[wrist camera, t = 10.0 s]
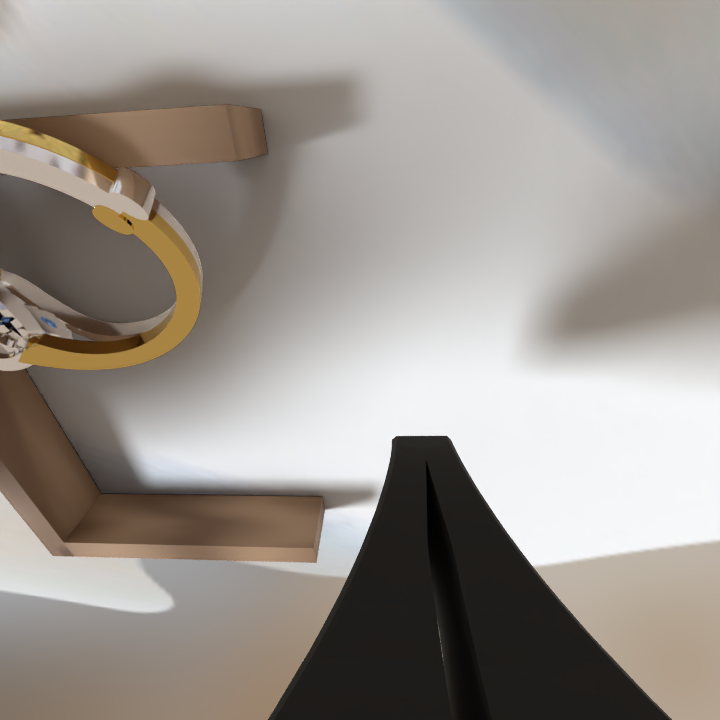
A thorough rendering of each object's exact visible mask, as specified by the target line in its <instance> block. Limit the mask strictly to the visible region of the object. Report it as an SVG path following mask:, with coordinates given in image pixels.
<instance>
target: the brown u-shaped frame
mask: <svg viewBox="0 0 720 720" xmlns="http://www.w3.org/2000/svg"><path fill="white" fill-rule="evenodd" d="M1 121H5V122H9V123H13V124H16V125H20V126H23V127H26V128H29V129H32V130H35V131H38V132H40V133H43V134H46V135H48V136H51V137H53V138H56V139H58V140H60V141H63V142H65V143H67V144H69V145H71V146H74V147H76V148H78V149H80V150H82V151H84V152H86V153H88V154H90V155H91V156H93V157H95V158H97V159H99V160H100V161H102V162H104V163H106V164H107V165H109V166H111V167H112V168H120V167H124V168H126V167H143V166H161V165H178V164H195V163H212V162H229V161H239V160H243V159H248V158H252V157H257V156H261V155H265V154H268V151H267V145H266V138H265V132H264V126H263V120H262V113H261V109H255V108H248V107H241V106H234V105H227V104H223V105H209V106H195V107H181V108H167V109H153V110H138V111H124V112H110V113H96V114H82V115H68V116H54V117H39V118H25V119H11V120H1ZM0 175H7V174H3V173H0ZM5 341H6V337H5V336H3V337H0V343H1V344H5ZM0 491H1V493H2V494H3V495H4V496H5V498H6V499H7V500H8V501H9V502H10V504H11V505H12V506H13V507H14V509H15V510H16V511H17V512H18V514H19V515H20V516H21V517H22V519H23V520H24V521H25V522H26V523H27V525H28V526H29V527H30V528H31V530H32V531H33V532H34V533H35V535H36V536H37V537H38V538H39V539H40V541H41V542H42V543H43V544H44V546H45V547H46V548H47V549H48V551H49V552H50V553H51V554H52V555H53V556H78V557H116V558H155V559H194V560H196V559H197V560H233V561H271V562H310V563H316V562H317V556H318V550H319V543H320V537H321V531H322V524H323V518H324V512H325V510H324V503H323V497H311V496H228V495H145V494H101V493H100V491H99V489H98V488H97V486H96V484H95V483H94V481H93V479H92V478H91V476H90V475H89V473H88V471H87V470H86V468H85V466H84V465H83V463H82V461H81V460H80V458H79V456H78V455H77V453H76V452H75V450H74V448H73V447H72V445H71V443H70V442H69V440H68V438H67V437H66V435H65V434H64V432H63V430H62V429H61V427H60V425H59V424H58V422H57V420H56V419H55V417H54V415H53V414H52V412H51V411H50V409H49V407H48V406H47V404H46V402H45V401H44V399H43V397H42V396H41V394H40V393H39V391H38V389H37V388H36V386H35V384H34V383H33V381H32V379H31V378H30V376H29V374H28V373H27V371H26V370H25V369H21V370H16V371H2V370H0Z"/></svg>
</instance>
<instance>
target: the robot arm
mask: <svg viewBox="0 0 720 720" xmlns="http://www.w3.org/2000/svg"><path fill="white" fill-rule="evenodd" d="M437 621H438V622H437ZM438 627H439V629H438ZM439 632H440V636H439ZM440 640H441V643H440ZM441 647H442V650H441ZM442 654H443V657H442ZM443 663H444V664H443ZM268 720H672V719H671V718H670V717H669V716H668V715H667V714H666V713H665V712H664V711H663V710H662V709H661V708H660V707H659V706H658V705H657V704H656V703H655V702H654V701H652V699H651V698H650V697H649V696H648V695H647V694H646V693H645V692H644V691H643V690H642V689H641V688H640V687H639V686H638V685H637V684H636V683H635V682H634V680H633V679H631V677H630V676H629V675H628V674H627V673H626V672H625V671H624V670H623V669H622V668H621V667H620V666H619V665H618V664H617V662H616V661H615V660H614V659H613V658H612V657H611V656H610V655H609V654H608V653H607V652H606V651H605V650H604V649H603V648H602V647H601V646H600V645H599V644H598V642H597V641H596V640H595V639H594V638H593V637H592V636H591V635H590V634H589V633H588V632H587V630H586V629H585V628H584V627H583V626H582V625H581V624H580V622H579V621H578V620H577V619H576V618H575V617H574V616H573V614H572V613H571V612H570V611H569V610H568V609H567V608H566V607H565V605H564V604H563V603H562V602H561V601H560V600H559V598H558V597H557V596H556V595H555V593H554V592H553V591H552V590H551V589H550V588H549V586H548V585H547V584H546V583H545V581H544V580H543V579H542V578H541V577H540V576H539V574H538V573H537V571H536V570H535V569H534V568H533V566H532V565H531V564H530V563H529V561H528V560H527V559H526V557H525V556H524V555H523V553H522V552H521V551H520V549H519V548H518V547H517V545H516V544H515V543H514V541H513V540H512V539H511V537H510V536H509V534H508V533H507V532H506V530H505V529H504V528H503V526H502V525H501V523H500V522H499V520H498V519H497V517H496V516H495V514H494V513H493V511H492V510H491V508H490V507H489V505H488V504H487V502H486V501H485V499H484V498H483V496H482V495H481V493H480V492H479V490H478V488H477V487H476V485H475V484H474V482H473V480H472V479H471V477H470V475H469V473H468V472H467V470H466V468H465V467H464V465H463V463H462V461H461V459H460V457H459V456H458V454H457V452H456V450H455V448H454V446H453V443H452V441H451V439H449V438H448V437H447V436H396V437H395V438H394V439H392V451H391V458H390V463H389V467H388V471H387V475H386V479H385V483H384V486H383V489H382V493H381V496H380V499H379V502H378V505H377V508H376V511H375V514H374V517H373V519H372V522H371V524H370V527H369V529H368V532H367V534H366V537H365V539H364V542H363V545H362V547H361V549H360V552H359V554H358V556H357V558H356V561H355V563H354V565H353V567H352V570H351V572H350V574H349V576H348V578H347V580H346V582H345V585H344V587H343V588H342V591H341V593H340V595H339V597H338V598H337V600H336V602H335V604H334V606H333V608H332V610H331V612H330V614H329V616H328V618H327V620H326V621H325V623H324V626H323V627H322V629H321V631H320V633H319V635H318V636H317V638H316V640H315V642H314V644H313V645H312V647H311V649H310V651H309V653H308V654H307V656H306V658H305V659H304V661H303V662H302V664H301V666H300V667H299V669H298V671H297V672H296V674H295V676H294V678H293V679H292V681H291V683H290V684H289V686H288V688H287V689H286V691H285V693H284V694H283V696H282V698H281V699H280V701H279V703H278V704H277V706H276V708H275V709H274V711H273V713H272V714H271V716H270V717H269V719H268Z"/></svg>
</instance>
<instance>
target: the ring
mask: <svg viewBox="0 0 720 720" xmlns="http://www.w3.org/2000/svg"><path fill="white" fill-rule="evenodd" d="M0 173H3V174H8V175H12V176H16V177H20V178H23V179H27V180H30V181H33V182H36V183H39V184H42V185H45V186H48V187H51V188H53V189H56V190H58V191H61V192H63V193H65V194H68V195H70V196H72V197H74V198H76V199H79V200H81V201H83V202H85V203H87V204H89V205H90V206H92V207H93V210H92V213H93V215H94V217H95V218H96V219H97V220H98V221H100V222H101V223H102V224H104V225H105V226H107V227H109V228H110V229H112V230H114V231H116V232H118V233H121V234H125V235H130V234H132V233H133V234H134V235H136V236H137V237H138V238H139V239H141V240H142V241H143V242H144V243H145V244H146V245H147V246H148V247H149V248H150V249H151V250H152V251H153V252H154V253H155V254H156V255H157V256H158V258H159V259H160V260H161V261H162V263H163V264H164V265H165V267H166V268H167V270H168V272H169V274H170V276H171V278H172V280H173V283H174V286H175V290H176V302H175V303H174V304H173V306H172V307H171V308H169V309H168V310H167V311H165V312H164V313H162V314H160V315H158V316H156V317H153V318H150V319H147V320H143V321H139V322H132V323H110V322H104V321H100V320H96V319H93V318H90V317H88V316H85V315H83V314H81V313H79V312H77V311H75V310H73V309H71V308H70V307H68V306H66V305H64V304H63V303H61V302H59V301H58V300H56V299H55V298H53V297H52V296H50V295H49V294H47V293H46V292H44V291H43V290H41V289H40V288H38V287H37V286H35V285H34V284H32V283H31V282H29V281H27V280H26V279H24V278H22V277H20V276H18V275H16V274H13V273H9V272H6V271H4V270H2V269H0V337H3V336H5V335H7V334H8V335H7V338H6V341H5V344H1V343H0V370H2V371H16V370H21V369H25V368H28V367H30V366H32V365H38V366H45V367H53V368H62V369H76V370H102V369H114V368H122V367H128V366H133V365H137V364H140V363H144V362H147V361H150V360H152V359H155V358H157V357H159V356H161V355H163V354H165V353H167V352H168V351H170V350H171V349H173V348H174V347H176V346H177V345H178V344H179V343H180V342H181V341H182V340H183V339H184V338H185V337H186V336H187V335H188V334H189V332H190V331H191V330H192V328H193V326H194V324H195V322H196V320H197V317H198V314H199V310H200V304H201V298H202V284H203V272H202V266H201V261H200V258H199V255H198V253H197V250H196V248H195V246H194V244H193V242H192V241H191V239H190V237H189V236H188V234H187V233H186V231H185V230H184V229H183V227H182V226H181V225H180V223H179V222H178V221H177V220H176V219H175V218H174V216H173V215H172V214H171V213H170V212H169V211H168V210H167V209H166V208H165V207H164V206H163V205H162V204H161V203H160V202H159V201H157V200H156V199H155V195H156V191H155V189H154V188H153V186H152V185H151V184H150V183H149V182H148V181H147V180H146V179H145V178H143V177H142V176H141V175H139V174H138V173H136V172H134V171H132V170H130V169H127V168H124V167H120V168H118V171H117V170H116V169H114V168H112V167H111V166H109V165H107V164H106V163H104V162H102V161H100V160H99V159H97V158H95V157H93V156H91V155H90V154H88V153H86V152H84V151H82V150H80V149H78V148H76V147H74V146H71V145H69V144H67V143H65V142H63V141H60V140H58V139H56V138H53V137H51V136H48V135H46V134H43V133H40V132H38V131H35V130H32V129H29V128H26V127H23V126H20V125H16V124H13V123H9V122H5V121H1V120H0ZM14 295H15V296H14ZM22 300H23V301H24V302H23V301H22ZM25 302H26V303H27V304H29V305H24V304H25ZM67 329H69V330H67ZM71 331H73V332H75V333H77V334H79V335H82V336H84V337H87V338H89V339H92V340H96V341H80V340H72V338H73V337H72V333H71ZM16 347H20V348H16Z"/></svg>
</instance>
